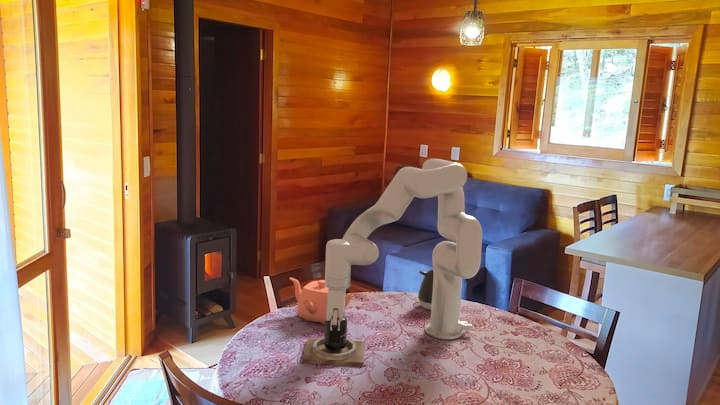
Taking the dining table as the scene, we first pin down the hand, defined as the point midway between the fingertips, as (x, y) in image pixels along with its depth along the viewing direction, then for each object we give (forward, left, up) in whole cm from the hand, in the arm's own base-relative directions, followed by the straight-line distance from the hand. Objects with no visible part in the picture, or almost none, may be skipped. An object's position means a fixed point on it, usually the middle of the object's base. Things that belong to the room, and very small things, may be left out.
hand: (335, 336), depth 163 cm
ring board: (0, 0, -6) cm, 6 cm away
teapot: (+7, -27, -6) cm, 28 cm away
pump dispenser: (-34, -42, -6) cm, 54 cm away
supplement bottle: (0, 0, -3) cm, 3 cm away
